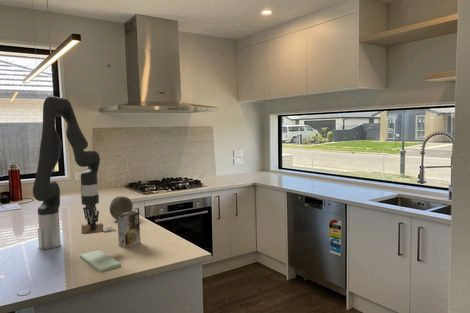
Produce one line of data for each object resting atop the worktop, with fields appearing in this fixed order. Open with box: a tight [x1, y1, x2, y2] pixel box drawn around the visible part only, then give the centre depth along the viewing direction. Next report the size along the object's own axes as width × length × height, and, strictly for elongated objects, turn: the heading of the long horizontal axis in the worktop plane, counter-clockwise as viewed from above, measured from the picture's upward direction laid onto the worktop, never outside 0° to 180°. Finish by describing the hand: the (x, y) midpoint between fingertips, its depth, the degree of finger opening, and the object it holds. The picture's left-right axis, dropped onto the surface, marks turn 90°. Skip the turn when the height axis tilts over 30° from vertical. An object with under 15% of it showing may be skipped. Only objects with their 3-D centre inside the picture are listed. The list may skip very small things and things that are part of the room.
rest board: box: [79, 249, 122, 273], centre depth 155 cm, size 9×23×1 cm, turn 43°
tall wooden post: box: [80, 222, 118, 235], centre depth 166 cm, size 15×6×4 cm, turn 133°
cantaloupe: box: [109, 196, 133, 220], centre depth 224 cm, size 14×14×15 cm
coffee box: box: [117, 210, 141, 249], centre depth 177 cm, size 9×6×16 cm
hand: (92, 229), depth 164 cm, fingers closed on tall wooden post, 3 cm apart
